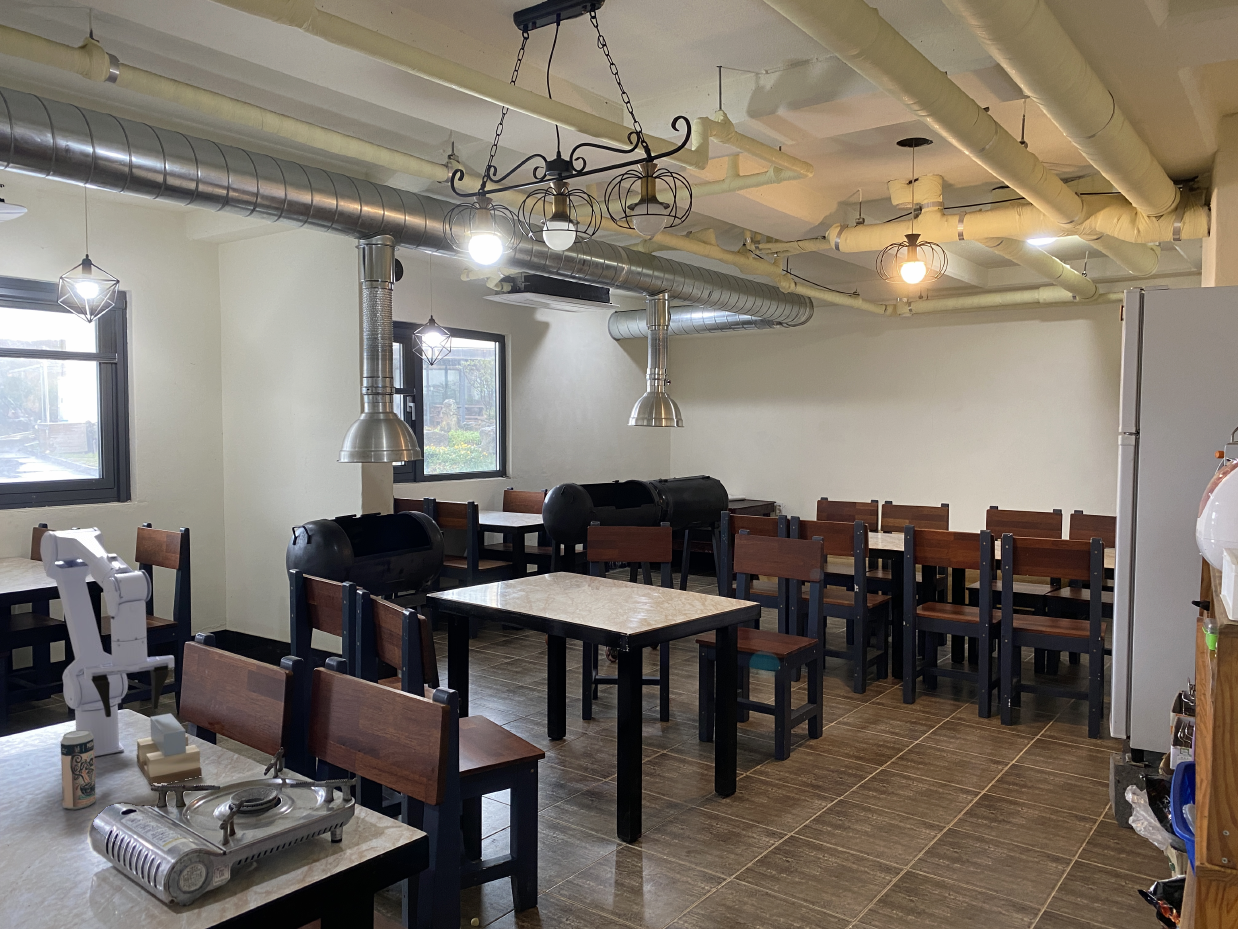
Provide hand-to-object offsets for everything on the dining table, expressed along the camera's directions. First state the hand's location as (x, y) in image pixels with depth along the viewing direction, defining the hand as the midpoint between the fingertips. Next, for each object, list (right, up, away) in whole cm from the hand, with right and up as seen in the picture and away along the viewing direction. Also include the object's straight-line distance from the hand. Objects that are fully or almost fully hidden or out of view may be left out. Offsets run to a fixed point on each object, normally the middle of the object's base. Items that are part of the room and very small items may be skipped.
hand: (131, 711), depth 170 cm
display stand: (+7, -10, -1) cm, 13 cm away
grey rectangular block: (+7, -6, -1) cm, 9 cm away
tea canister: (0, -11, -17) cm, 20 cm away
